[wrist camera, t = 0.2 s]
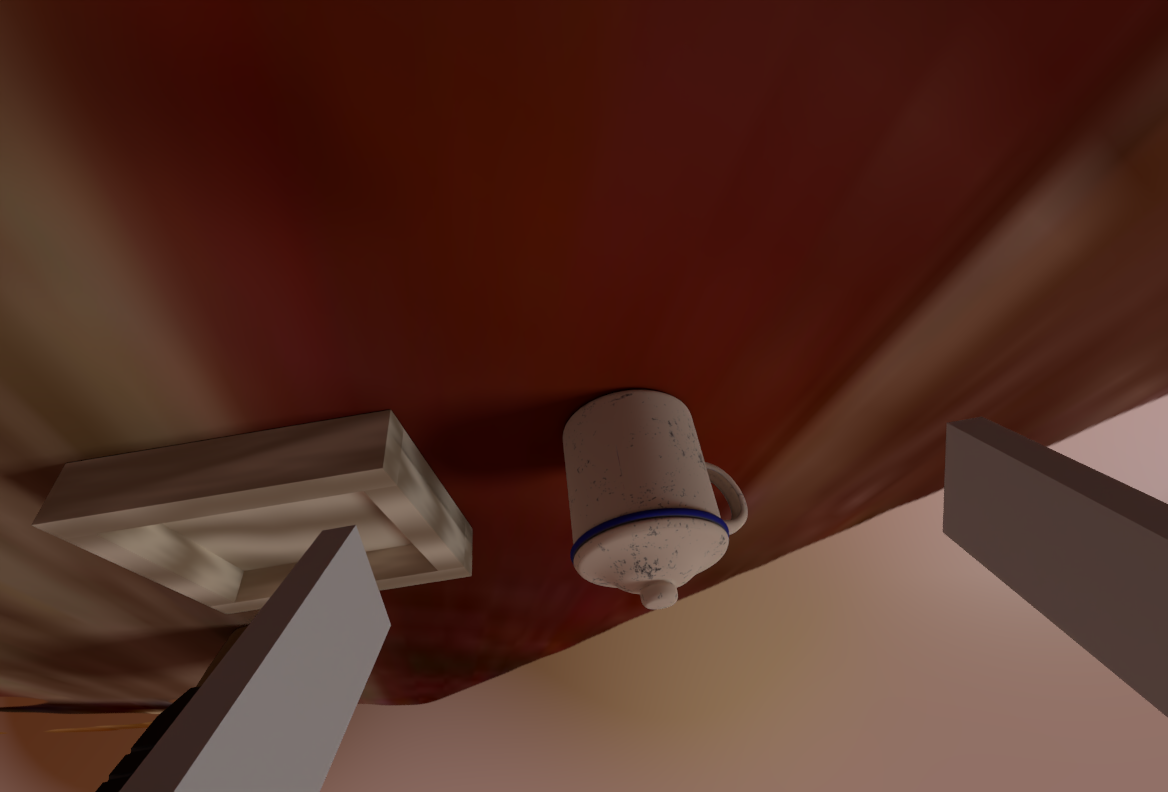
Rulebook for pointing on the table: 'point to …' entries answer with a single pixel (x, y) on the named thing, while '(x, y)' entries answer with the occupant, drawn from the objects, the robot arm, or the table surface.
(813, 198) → the table surface
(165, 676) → the table surface
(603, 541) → the teacup with lid
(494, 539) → the table surface
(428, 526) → the square tray
